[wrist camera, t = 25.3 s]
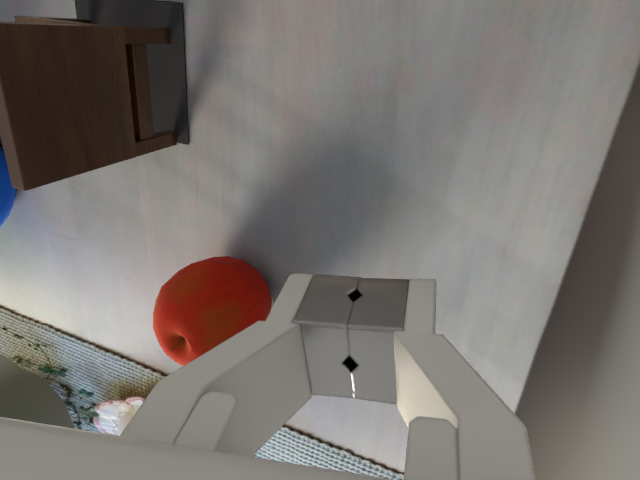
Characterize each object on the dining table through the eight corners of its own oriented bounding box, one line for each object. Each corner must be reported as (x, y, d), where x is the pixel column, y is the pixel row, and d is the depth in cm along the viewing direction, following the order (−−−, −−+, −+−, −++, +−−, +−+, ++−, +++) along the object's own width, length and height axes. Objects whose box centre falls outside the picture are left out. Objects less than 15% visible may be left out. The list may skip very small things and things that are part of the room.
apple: (247, 224, 44) (169, 277, 34) (305, 307, 45) (245, 381, 35) (186, 265, 49) (104, 321, 39) (240, 338, 50) (172, 410, 40)
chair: (174, 28, 39) (-13, 22, 25) (180, 143, 43) (24, 191, 29) (85, 19, 42) (-124, 9, 28) (100, 127, 46) (-75, 163, 32)
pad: (182, 2, 37) (181, 2, 37) (189, 144, 43) (188, 144, 43) (74, -7, 41) (73, -7, 41) (92, 124, 46) (91, 124, 46)
